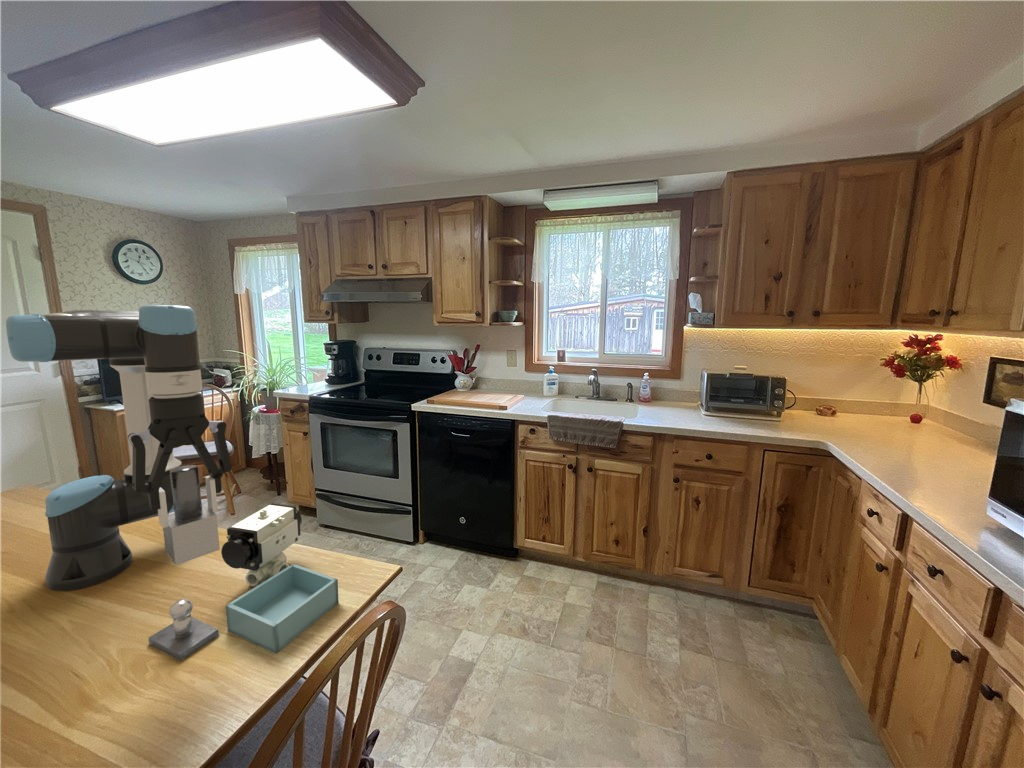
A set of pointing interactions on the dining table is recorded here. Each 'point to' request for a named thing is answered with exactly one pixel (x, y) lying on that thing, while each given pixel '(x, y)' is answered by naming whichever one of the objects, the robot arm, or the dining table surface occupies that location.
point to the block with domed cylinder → (189, 519)
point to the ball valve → (262, 542)
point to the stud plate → (184, 643)
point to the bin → (282, 607)
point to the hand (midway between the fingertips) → (189, 517)
